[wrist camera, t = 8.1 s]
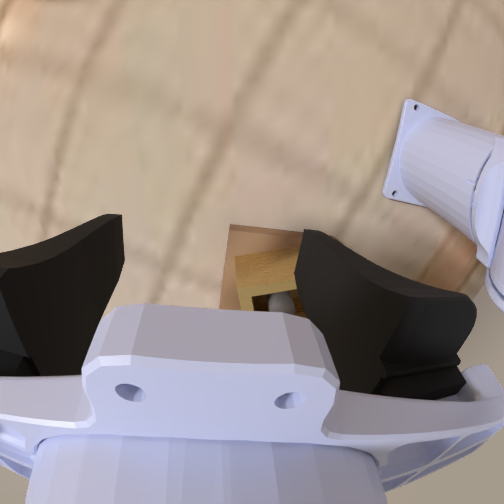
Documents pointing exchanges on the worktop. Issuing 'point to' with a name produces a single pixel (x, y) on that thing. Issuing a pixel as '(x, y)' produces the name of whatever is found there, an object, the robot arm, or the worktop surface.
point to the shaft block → (254, 242)
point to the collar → (266, 277)
